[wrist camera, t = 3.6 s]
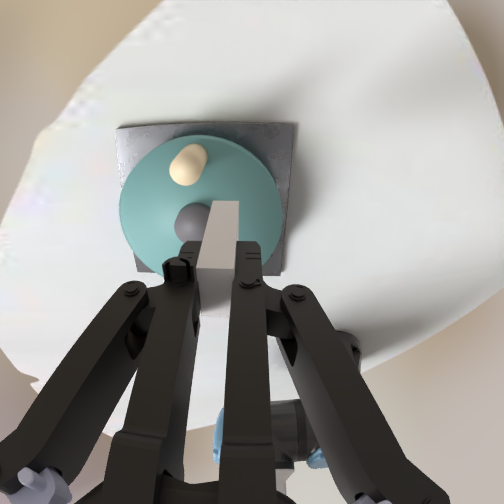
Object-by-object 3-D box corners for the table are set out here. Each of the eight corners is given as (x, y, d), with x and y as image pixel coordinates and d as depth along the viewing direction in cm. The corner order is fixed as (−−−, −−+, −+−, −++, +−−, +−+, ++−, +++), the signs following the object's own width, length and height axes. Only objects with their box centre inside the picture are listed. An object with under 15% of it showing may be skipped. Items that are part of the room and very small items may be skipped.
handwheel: (275, 279, 42) (278, 315, 36) (138, 275, 42) (123, 308, 36) (286, 136, 31) (296, 151, 25) (115, 140, 31) (88, 156, 25)
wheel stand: (292, 124, 33) (296, 128, 31) (279, 272, 45) (281, 284, 43) (117, 128, 33) (108, 132, 30) (139, 268, 45) (134, 279, 43)
